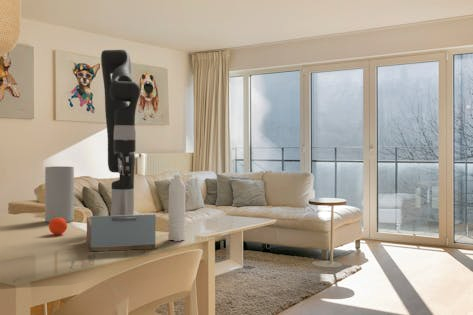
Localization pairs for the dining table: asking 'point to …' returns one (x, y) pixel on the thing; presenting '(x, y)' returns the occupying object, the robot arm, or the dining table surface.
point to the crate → (112, 246)
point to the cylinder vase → (59, 193)
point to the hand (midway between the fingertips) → (124, 185)
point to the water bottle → (177, 209)
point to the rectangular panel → (122, 230)
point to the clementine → (57, 226)
